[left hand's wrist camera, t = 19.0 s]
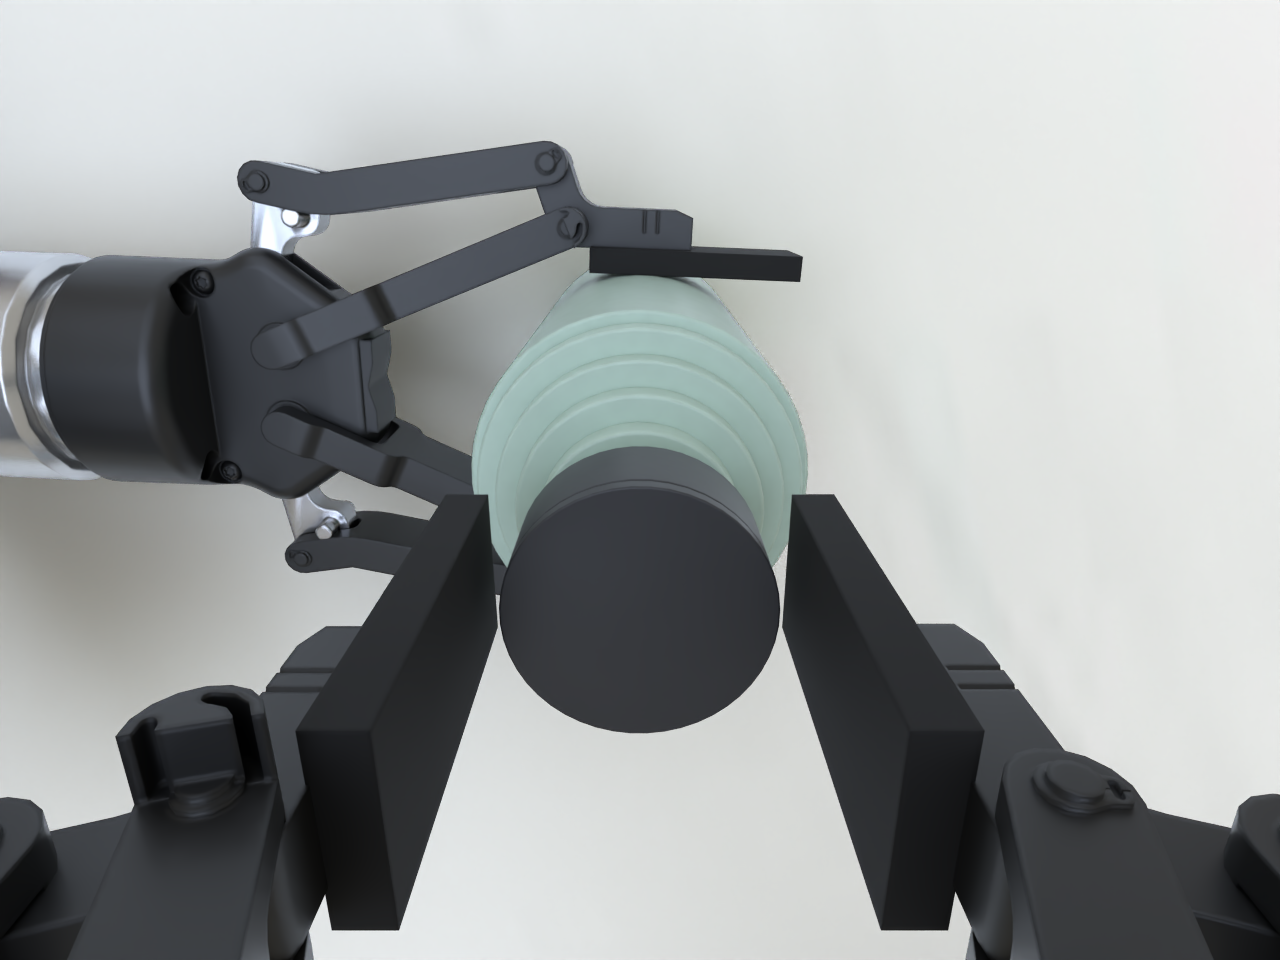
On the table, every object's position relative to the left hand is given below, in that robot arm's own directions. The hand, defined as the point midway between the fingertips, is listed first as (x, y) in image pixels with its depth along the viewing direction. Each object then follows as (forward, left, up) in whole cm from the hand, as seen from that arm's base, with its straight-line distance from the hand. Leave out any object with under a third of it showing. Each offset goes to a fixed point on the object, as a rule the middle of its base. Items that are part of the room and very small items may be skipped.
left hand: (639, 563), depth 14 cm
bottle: (0, 0, -20) cm, 20 cm away
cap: (0, 0, +2) cm, 2 cm away
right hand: (-4, -2, -13) cm, 14 cm away
